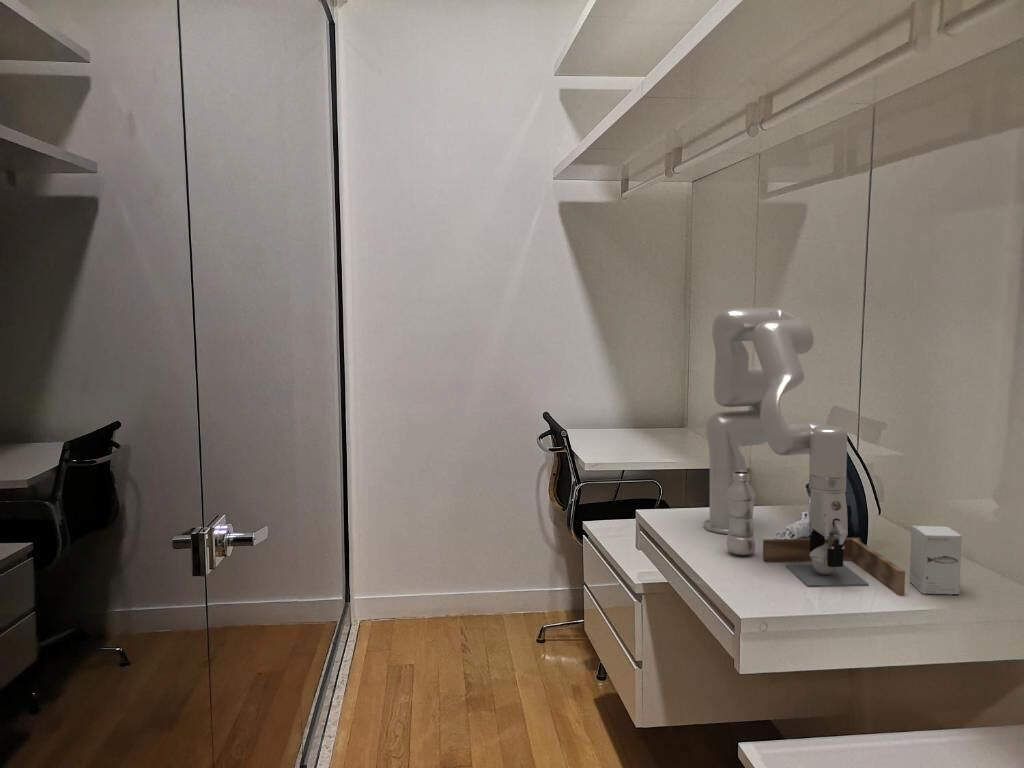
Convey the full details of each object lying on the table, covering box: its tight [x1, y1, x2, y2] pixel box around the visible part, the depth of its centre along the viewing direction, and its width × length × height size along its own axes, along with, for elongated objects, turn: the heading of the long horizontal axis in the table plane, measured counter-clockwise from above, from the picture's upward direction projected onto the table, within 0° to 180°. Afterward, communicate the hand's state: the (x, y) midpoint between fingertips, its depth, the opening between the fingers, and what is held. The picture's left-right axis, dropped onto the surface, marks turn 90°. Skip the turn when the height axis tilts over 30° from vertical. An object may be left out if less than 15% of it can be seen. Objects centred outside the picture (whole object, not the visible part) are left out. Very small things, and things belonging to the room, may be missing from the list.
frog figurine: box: [810, 543, 836, 575], centre depth 170 cm, size 6×7×7 cm
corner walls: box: [762, 537, 906, 596], centre depth 170 cm, size 23×22×5 cm
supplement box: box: [909, 525, 963, 595], centre depth 161 cm, size 7×7×13 cm
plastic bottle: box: [726, 471, 756, 556], centre depth 185 cm, size 6×7×20 cm
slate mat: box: [785, 563, 870, 588], centre depth 170 cm, size 13×13×1 cm
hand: (825, 559), depth 170 cm, fingers open, 9 cm apart
